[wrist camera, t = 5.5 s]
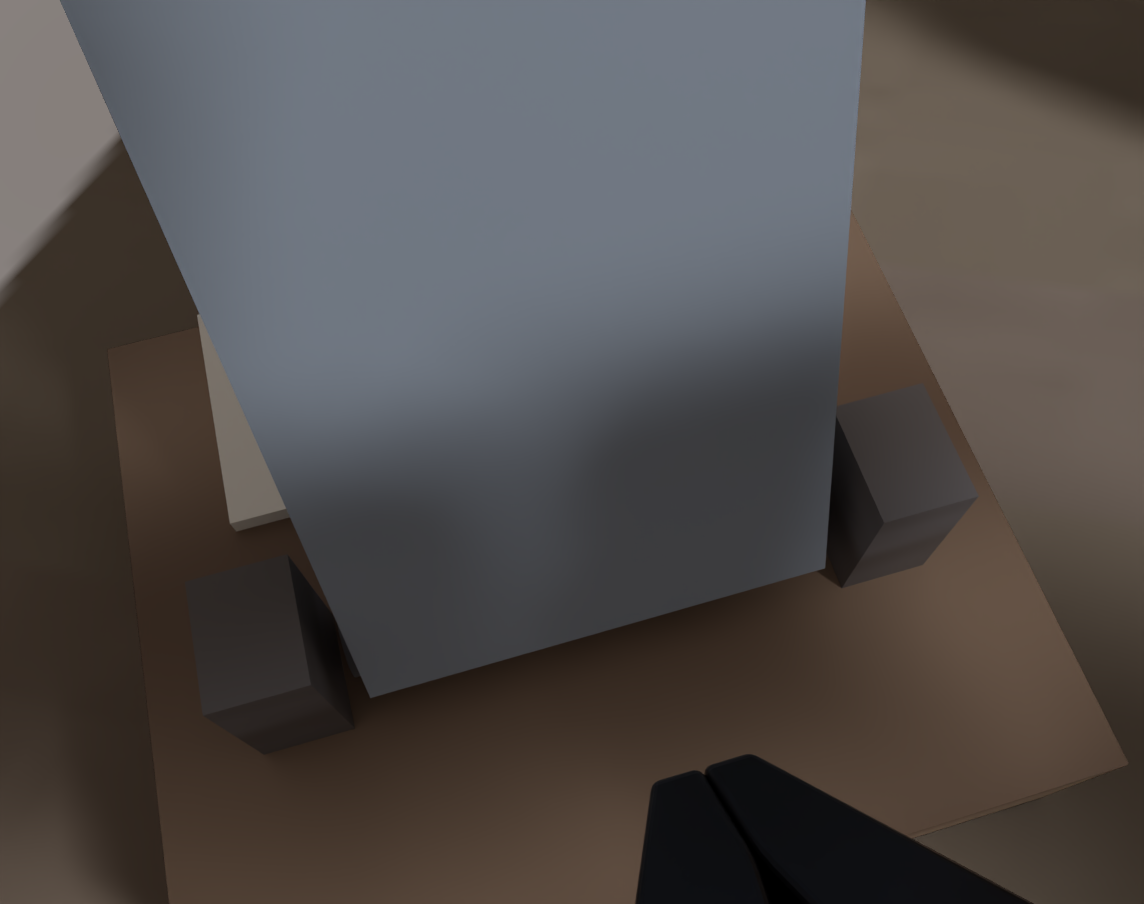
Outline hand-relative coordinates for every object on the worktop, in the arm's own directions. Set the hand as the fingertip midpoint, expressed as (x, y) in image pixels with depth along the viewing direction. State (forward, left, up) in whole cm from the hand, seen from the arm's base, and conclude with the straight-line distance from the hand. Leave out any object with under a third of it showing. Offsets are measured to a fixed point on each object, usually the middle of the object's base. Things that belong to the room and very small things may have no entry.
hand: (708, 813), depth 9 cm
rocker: (+3, +3, -5) cm, 6 cm away
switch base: (+3, +3, -8) cm, 9 cm away
